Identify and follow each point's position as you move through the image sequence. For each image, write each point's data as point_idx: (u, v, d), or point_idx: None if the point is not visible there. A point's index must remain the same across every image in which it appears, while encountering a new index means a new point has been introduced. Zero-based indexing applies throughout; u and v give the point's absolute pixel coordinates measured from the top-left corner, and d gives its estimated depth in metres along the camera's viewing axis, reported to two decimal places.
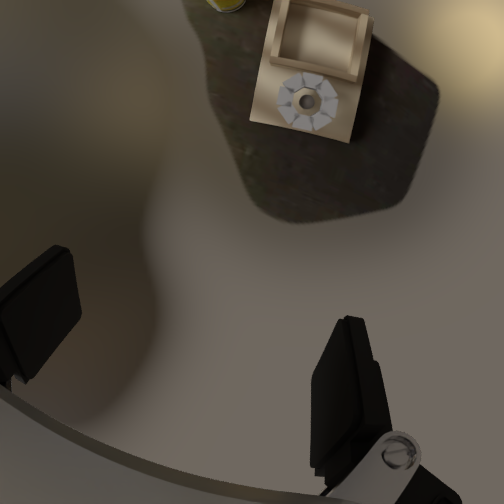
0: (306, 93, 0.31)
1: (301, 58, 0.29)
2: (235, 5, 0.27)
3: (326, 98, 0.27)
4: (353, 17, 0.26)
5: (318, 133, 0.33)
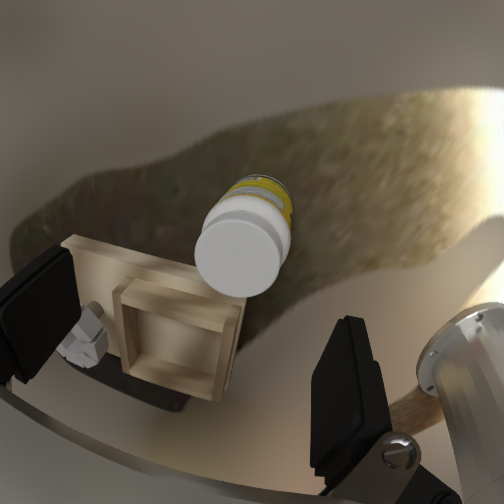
0: (106, 310, 0.25)
1: (144, 311, 0.25)
2: None
3: (79, 358, 0.22)
4: None
5: None
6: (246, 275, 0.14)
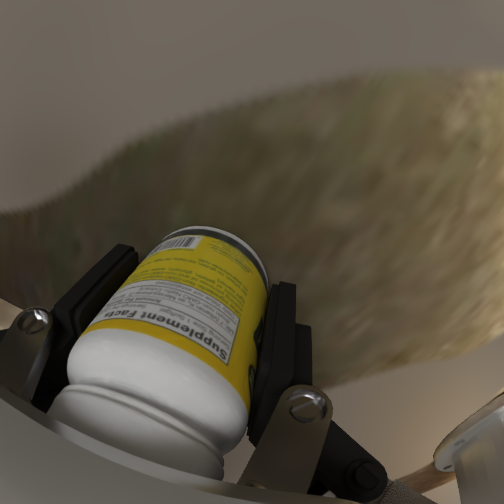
0: None
1: None
2: None
3: None
4: None
5: None
6: None
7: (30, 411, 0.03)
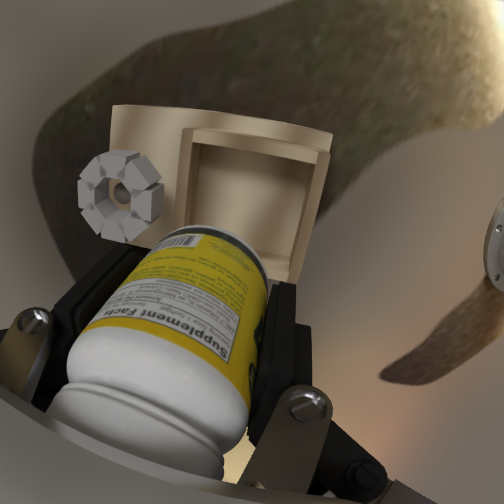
0: None
1: (208, 171, 0.22)
2: None
3: (121, 226, 0.19)
4: (291, 252, 0.24)
5: None
6: None
7: (30, 411, 0.03)
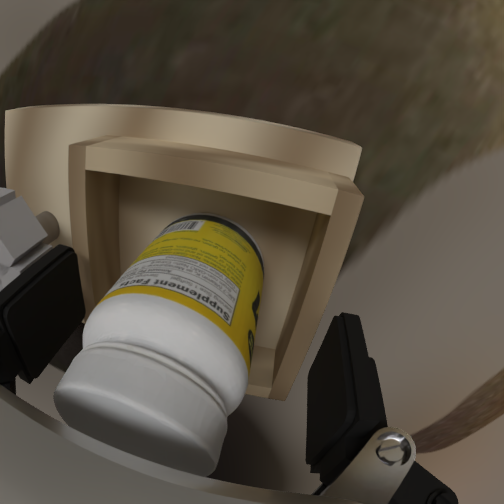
0: (63, 228, 0.13)
1: (134, 214, 0.12)
2: None
3: None
4: (277, 344, 0.14)
5: None
6: (154, 461, 0.05)
7: (30, 411, 0.03)
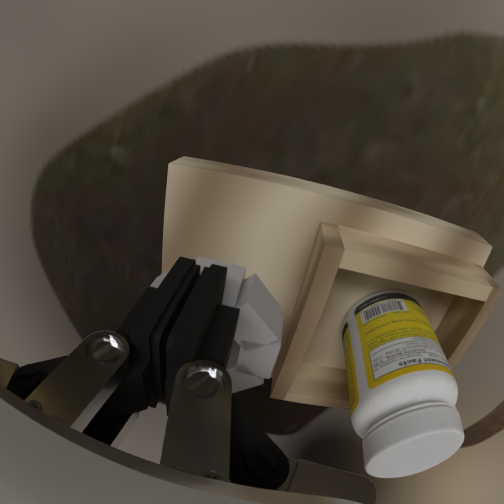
0: None
1: (332, 288, 0.15)
2: None
3: None
4: None
5: None
6: (419, 463, 0.08)
7: (30, 411, 0.03)
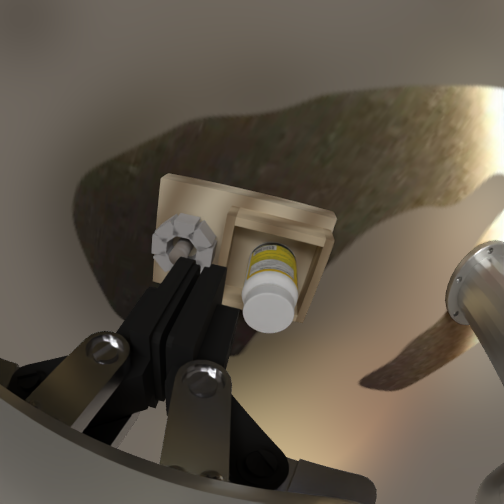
0: None
1: (241, 240, 0.30)
2: None
3: None
4: (298, 298, 0.32)
5: None
6: (273, 321, 0.23)
7: (30, 411, 0.03)
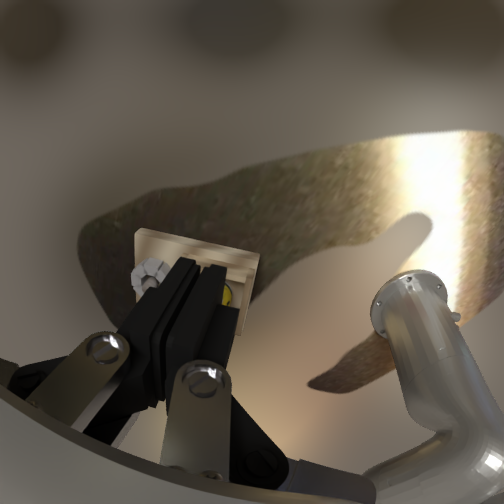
0: None
1: None
2: None
3: None
4: None
5: None
6: None
7: (30, 411, 0.03)
